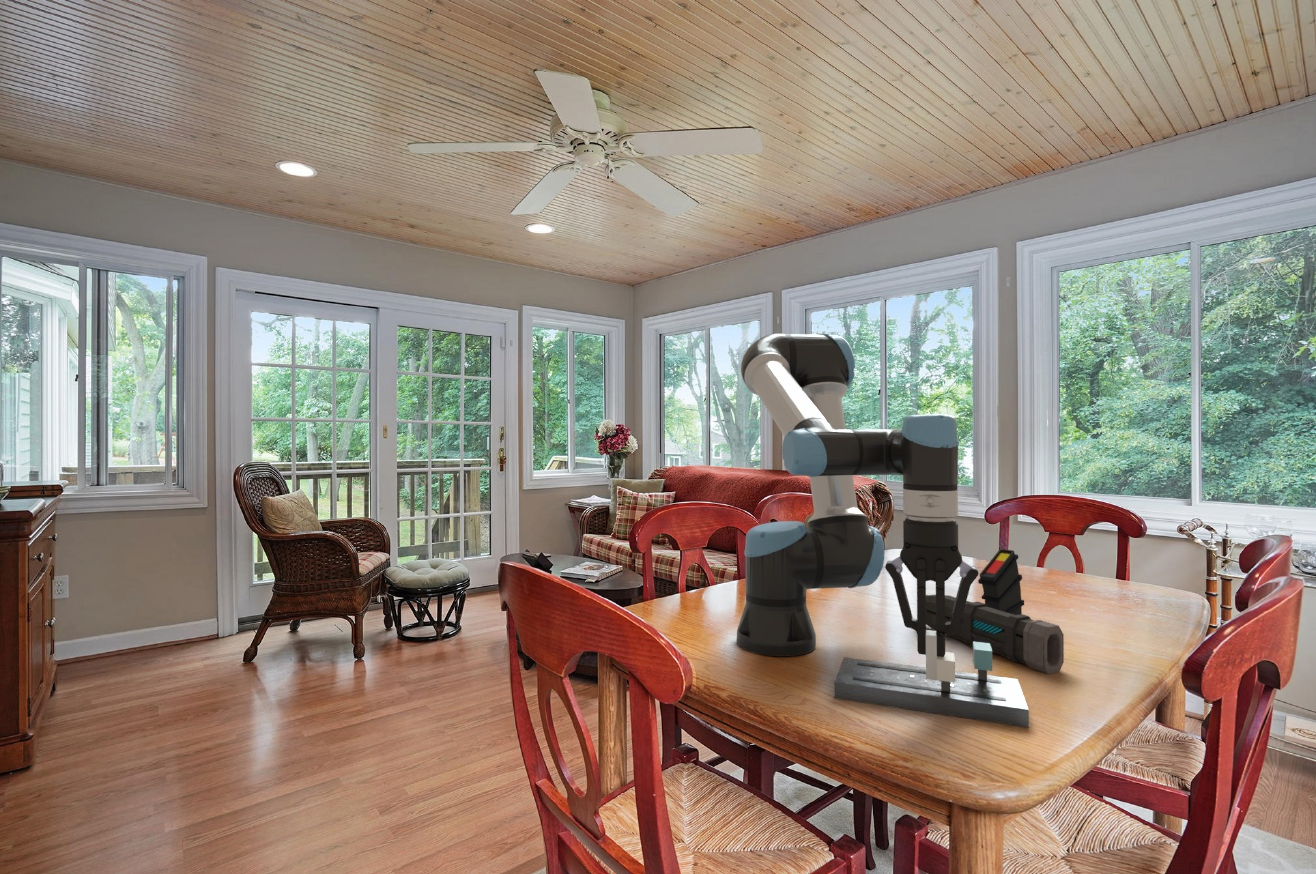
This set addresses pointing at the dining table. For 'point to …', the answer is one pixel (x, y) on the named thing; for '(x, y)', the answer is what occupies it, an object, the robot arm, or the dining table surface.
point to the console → (932, 692)
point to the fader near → (946, 670)
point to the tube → (1005, 634)
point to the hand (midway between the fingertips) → (931, 676)
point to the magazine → (1002, 583)
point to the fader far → (982, 659)
